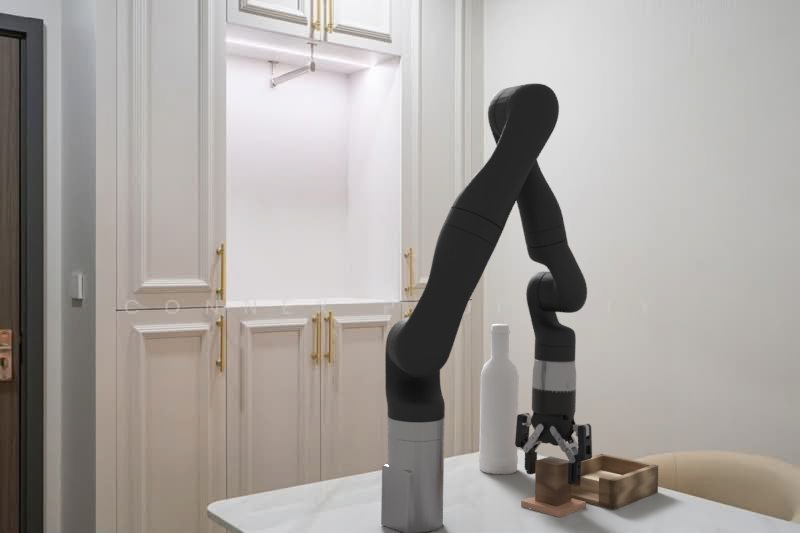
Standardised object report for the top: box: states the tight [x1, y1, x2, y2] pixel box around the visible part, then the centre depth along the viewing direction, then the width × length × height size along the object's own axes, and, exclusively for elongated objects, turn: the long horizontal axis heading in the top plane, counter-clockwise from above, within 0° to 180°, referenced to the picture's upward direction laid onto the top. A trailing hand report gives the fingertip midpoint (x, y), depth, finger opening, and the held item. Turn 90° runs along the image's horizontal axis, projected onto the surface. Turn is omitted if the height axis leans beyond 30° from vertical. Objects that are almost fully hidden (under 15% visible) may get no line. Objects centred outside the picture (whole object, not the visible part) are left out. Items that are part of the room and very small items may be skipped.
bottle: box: [478, 323, 519, 475], centre depth 158 cm, size 8×8×30 cm
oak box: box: [572, 453, 659, 511], centre depth 142 cm, size 16×12×5 cm
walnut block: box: [534, 456, 572, 507], centre depth 133 cm, size 4×4×7 cm
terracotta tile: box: [520, 495, 587, 518], centre depth 133 cm, size 8×8×1 cm
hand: (551, 478), depth 133 cm, fingers open, 8 cm apart
